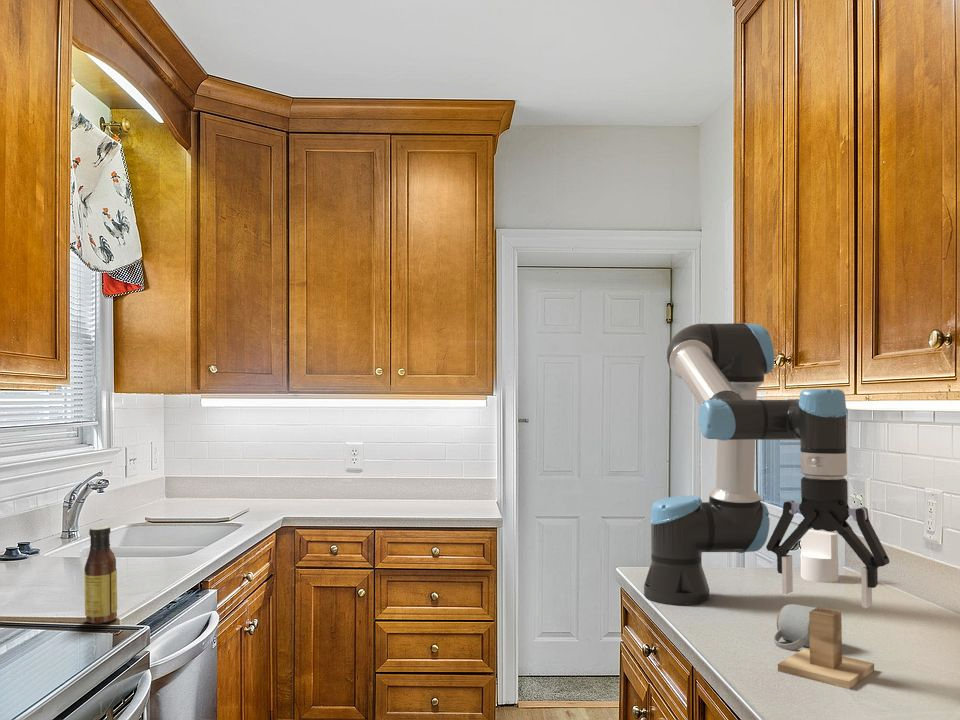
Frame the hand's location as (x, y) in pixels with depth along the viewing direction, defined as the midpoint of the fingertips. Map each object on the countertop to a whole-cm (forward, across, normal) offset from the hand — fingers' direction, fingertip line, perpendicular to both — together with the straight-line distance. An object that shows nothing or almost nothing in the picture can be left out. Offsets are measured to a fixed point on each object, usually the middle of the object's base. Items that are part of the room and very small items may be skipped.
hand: (826, 599), depth 141 cm
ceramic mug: (+13, -10, +12) cm, 20 cm away
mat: (+13, 0, 0) cm, 13 cm away
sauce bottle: (+13, -124, -75) cm, 145 cm away
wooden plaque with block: (+12, 0, 0) cm, 12 cm away
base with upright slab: (+12, -28, +69) cm, 76 cm away
